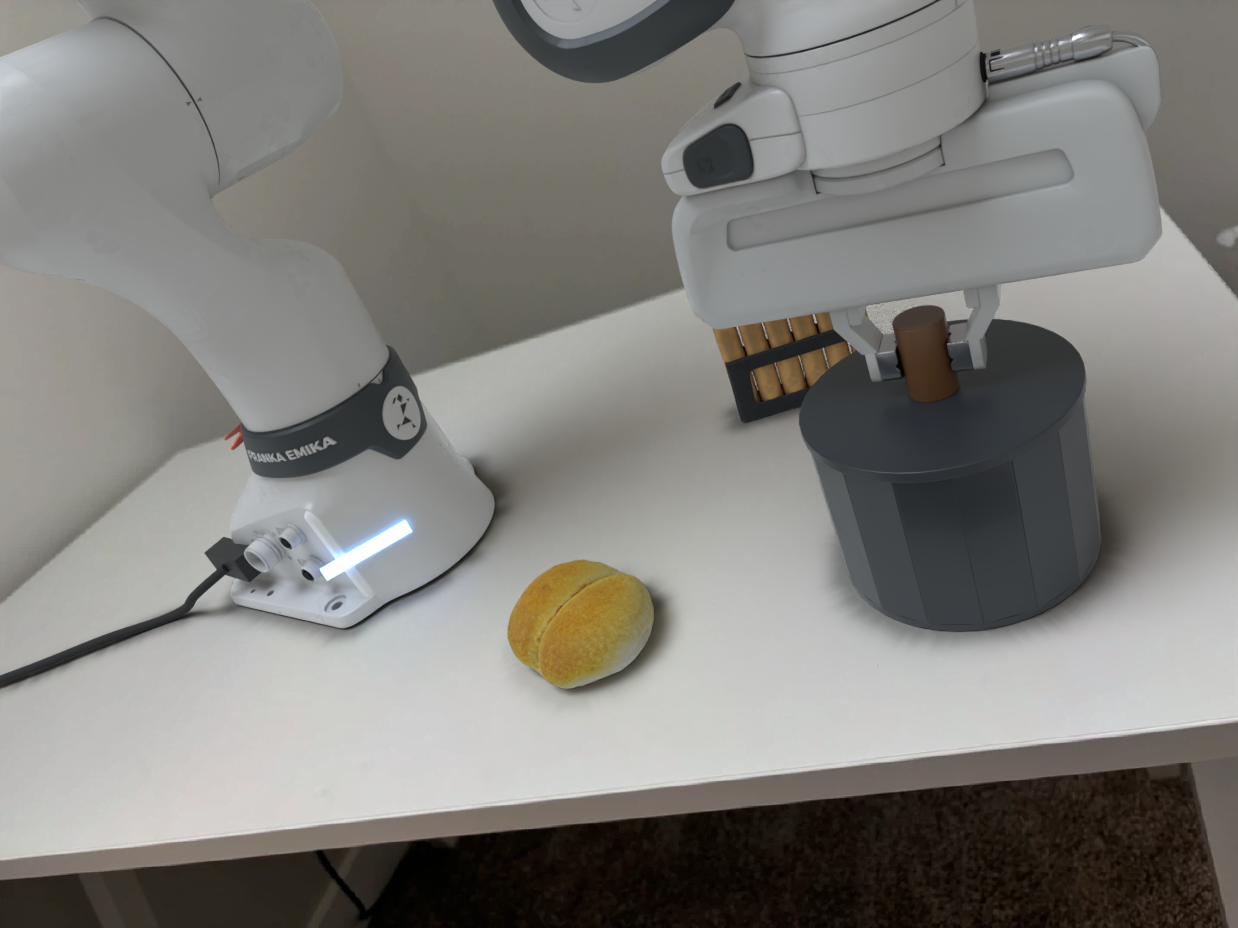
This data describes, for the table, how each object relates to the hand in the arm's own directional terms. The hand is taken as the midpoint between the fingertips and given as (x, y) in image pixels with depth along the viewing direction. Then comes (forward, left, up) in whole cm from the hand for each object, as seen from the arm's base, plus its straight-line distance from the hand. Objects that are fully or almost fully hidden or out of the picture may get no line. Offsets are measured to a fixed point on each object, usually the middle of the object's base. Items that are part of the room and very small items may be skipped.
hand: (928, 369), depth 46 cm
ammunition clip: (-12, +17, -11) cm, 24 cm away
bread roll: (-21, -7, -11) cm, 25 cm away
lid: (0, 0, -2) cm, 2 cm away
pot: (0, 0, -11) cm, 11 cm away
